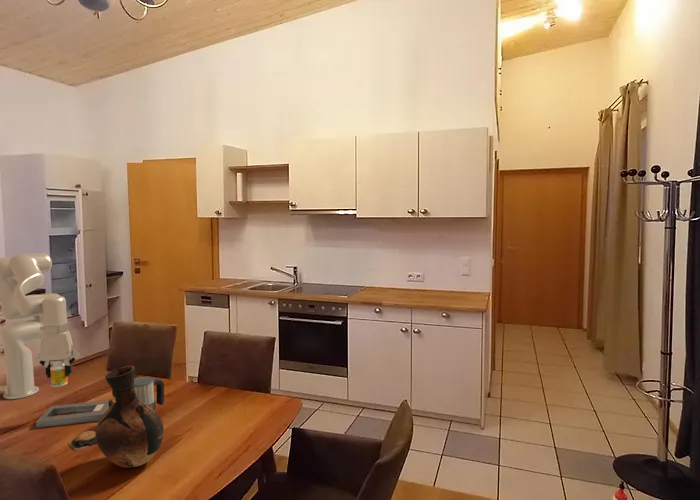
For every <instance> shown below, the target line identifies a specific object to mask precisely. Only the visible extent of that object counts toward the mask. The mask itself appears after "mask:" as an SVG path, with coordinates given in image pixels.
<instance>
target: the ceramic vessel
mask: <svg viewBox="0 0 700 500" xmlns="http://www.w3.org/2000/svg"><path fill="white" fill-rule="evenodd" d="M135 368H136V367H135V366H133V365H127V366H123V367H119V368H115V369H113V370H111V371H109V372H108V373H107V374H106V375H105V376H104V378H105V380H106V382H107V384H108V385H109V387H110V389H111V390H112V391H111V393H112V396H113V398H114V399H115V400H113V399H108V400H109V403H108V404H109V408H108V409H107V410H106V411H105V412H104V414H103V415H102V416H101V418H100V420H99V421H97V423H96V424H97V426H96V427H95V431H96V442H97V444H96V445H97V446H98V448H99V450H100V452H101V453H102V454H103V455H104V456H105V457H106V458H107V460H109V461H110V462H111V463H112V464H114V465H116V466H118V467H119V468H120V467H121V468H130V469H131V468H135V467H139V466H140V467H141V466H142V465H145V464H147V463H148V462H149V461H150V460H151V459H153V458H154V456H155V455H156V454H157V452H158V451H159V449H160V447H161V445H162V442H163V439H164V423H163V420H162V417H161V416H160V415H159V413H158V412H157V410H156V409H155V410H154V409H153V408H151V407H150V406H148V405H147V404H145V403H144V402H142V401H140V400H138V399H137V395H136V392H135V388H134V379H135V377H136V369H135Z"/></svg>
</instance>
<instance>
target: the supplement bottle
mask: <svg viewBox="0 0 700 500" xmlns="http://www.w3.org/2000/svg"><path fill="white" fill-rule="evenodd" d="M51 365H52V366H51V367H50V375H51V377H50V385H51V387H52V388H53V387H54V388H58V387H63V386H66V385H67V384H68V382H69V380H68V378H69V376H66V375H65V366H66V363H65V361H64V360H53V361H51Z"/></svg>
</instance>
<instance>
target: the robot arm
mask: <svg viewBox="0 0 700 500" xmlns="http://www.w3.org/2000/svg"><path fill="white" fill-rule="evenodd" d="M52 266H53V261H52V258H51V257H50V255H49V254H47V253H46V252H29V253H28V252H27V253H26V252H25V253H17V254H15V255H13V256H6V257H0V309H1V310H0V311H1V314H2V316H3V318H4V319H5V320H12V321H13V320H18V319H25V318H26V319H27V318H31V317H32V318H33V319H28V320H22V321H21V320H20V321H17V322H12V323H11V322H10V323H8V324H6V325H4V326H3V327H2V328H1V329H0V339H1V343H2V346H3V351H4V362H5V364H4V365H5V375H6V384H5V385H0V393H3V392H4V393H3V395H2V396H3V398H4V399H6V400H17V399H22V398H27V397H31V396H33V395H35V394H36V393H38V392H39V390H40V388H39V386H36V385H35V377H34V376H35V375H34V365H33V364H34V363H33V352H32V350H31V349H30V348H29V347H27V345H25V344H28V343H33V342H37V341H40V344H39V345H40V347H39V353H38V354H37V355H36V357H35V358H34V360H35V361H36V362H38V363H39V364H40V365H42V366H43V367H44V369H45V376H46V377H47V379H51V375H50V367H51V366H52V361H53V360H64V364H66V366H65V375H66V376H67V377H69V376H70V375H71V374H72V364H73V362H75V361H76V360H77V358H79V357H80V356H81V353H80V352H78V351H77V350H76V349H75V348H74V344H73V339H72V335H71V332H70V330H69V329H68V314H67V300H66V298H65V297H64V296H63V295H62V296H61V295H60V294H58V293H47V294H29V293H31V292H33V291H35V290H37V289H38V288H41V287H42V285H44V283H45V276H44V274H45V273H48V272H50V270H51V269H52ZM27 294H28V295H27ZM73 355H74V356H73ZM71 356H73V357H72V358H71Z"/></svg>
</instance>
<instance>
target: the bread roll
mask: <svg viewBox="0 0 700 500" xmlns="http://www.w3.org/2000/svg"><path fill="white" fill-rule="evenodd" d="M94 445H97V442H96V430H95V431H94V430H87V431H83V432H81V433H80V434H78V435H77V436H75V438H73V439H72V441H69V442H68V446H70V447H71V449H73V450H74V451H78V450H82V449H85V448H87V447H91V446H94Z"/></svg>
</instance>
